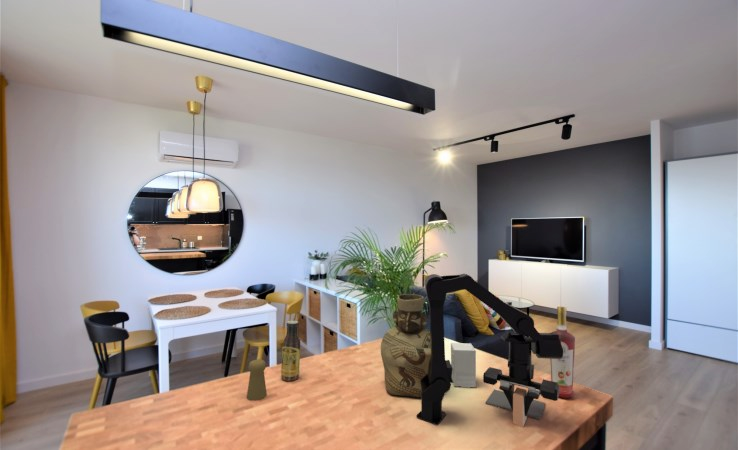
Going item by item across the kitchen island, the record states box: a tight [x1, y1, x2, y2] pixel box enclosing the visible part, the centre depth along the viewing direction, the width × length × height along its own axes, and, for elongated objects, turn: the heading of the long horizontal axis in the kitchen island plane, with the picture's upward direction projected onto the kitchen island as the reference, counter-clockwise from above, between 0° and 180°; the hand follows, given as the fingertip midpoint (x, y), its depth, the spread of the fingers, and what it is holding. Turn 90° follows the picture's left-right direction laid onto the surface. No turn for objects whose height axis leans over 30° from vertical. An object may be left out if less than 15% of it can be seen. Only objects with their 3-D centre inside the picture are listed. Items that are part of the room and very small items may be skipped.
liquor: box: [549, 306, 576, 399], centre depth 109 cm, size 7×7×28 cm
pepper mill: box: [246, 358, 268, 402], centre depth 107 cm, size 6×6×11 cm
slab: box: [512, 387, 528, 428], centre depth 94 cm, size 5×3×8 cm, turn 145°
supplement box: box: [450, 342, 477, 388], centre depth 117 cm, size 7×7×13 cm
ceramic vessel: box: [380, 293, 431, 398], centre depth 114 cm, size 19×21×30 cm
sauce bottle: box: [280, 320, 301, 382], centre depth 120 cm, size 6×6×20 cm
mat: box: [485, 388, 546, 420], centre depth 103 cm, size 10×15×1 cm, turn 55°
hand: (520, 413), depth 94 cm, fingers closed on slab, 3 cm apart
